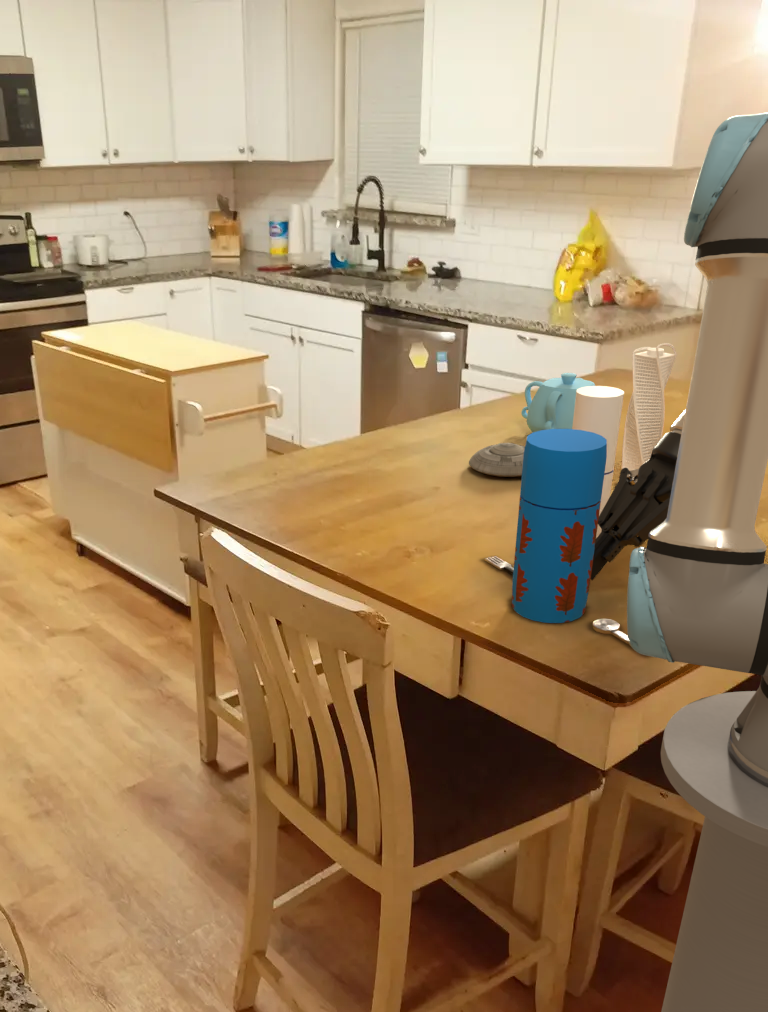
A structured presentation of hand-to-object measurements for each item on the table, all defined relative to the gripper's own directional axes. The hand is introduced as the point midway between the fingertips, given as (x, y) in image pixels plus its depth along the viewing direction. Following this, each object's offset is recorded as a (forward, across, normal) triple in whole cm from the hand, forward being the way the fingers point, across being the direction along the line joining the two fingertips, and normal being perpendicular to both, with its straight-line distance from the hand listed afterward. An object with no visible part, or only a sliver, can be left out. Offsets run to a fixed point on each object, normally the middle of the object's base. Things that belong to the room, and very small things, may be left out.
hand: (584, 573), depth 140 cm
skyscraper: (-24, +30, -30) cm, 49 cm away
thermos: (+7, 0, +2) cm, 8 cm away
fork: (+5, +13, 0) cm, 14 cm away
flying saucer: (-14, +53, -21) cm, 59 cm away
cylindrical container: (-7, +17, -13) cm, 22 cm away
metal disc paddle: (+5, -13, 0) cm, 14 cm away
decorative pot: (-32, +66, -38) cm, 83 cm away
